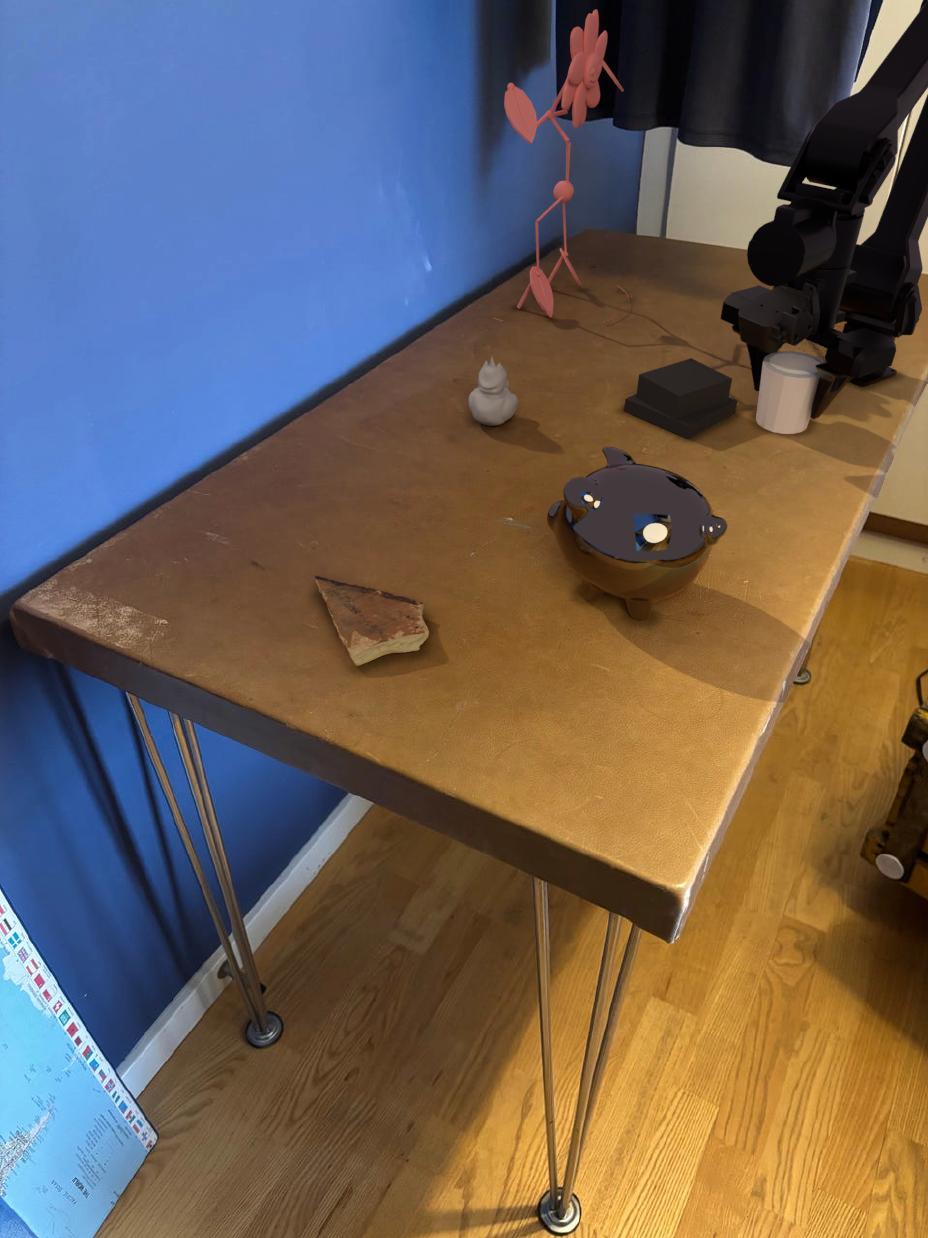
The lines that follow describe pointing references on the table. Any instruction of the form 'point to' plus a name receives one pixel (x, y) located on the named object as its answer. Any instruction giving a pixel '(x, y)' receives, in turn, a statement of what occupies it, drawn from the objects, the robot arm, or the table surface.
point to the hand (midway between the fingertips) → (785, 403)
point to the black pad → (683, 388)
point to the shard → (373, 620)
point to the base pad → (685, 424)
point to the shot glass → (787, 391)
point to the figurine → (522, 116)
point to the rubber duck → (492, 396)
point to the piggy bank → (634, 531)
